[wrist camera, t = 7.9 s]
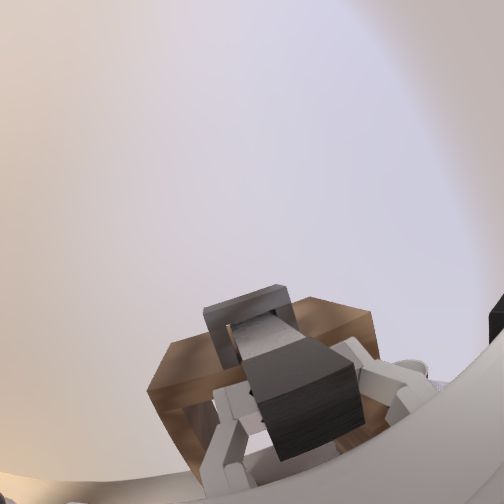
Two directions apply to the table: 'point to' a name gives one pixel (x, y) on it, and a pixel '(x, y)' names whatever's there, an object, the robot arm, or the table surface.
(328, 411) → the steel pull bar
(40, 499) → the table surface
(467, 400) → the robot arm
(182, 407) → the walnut shelf stand
